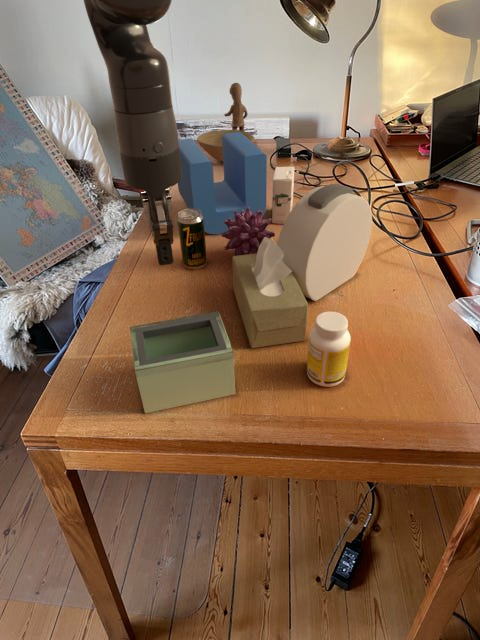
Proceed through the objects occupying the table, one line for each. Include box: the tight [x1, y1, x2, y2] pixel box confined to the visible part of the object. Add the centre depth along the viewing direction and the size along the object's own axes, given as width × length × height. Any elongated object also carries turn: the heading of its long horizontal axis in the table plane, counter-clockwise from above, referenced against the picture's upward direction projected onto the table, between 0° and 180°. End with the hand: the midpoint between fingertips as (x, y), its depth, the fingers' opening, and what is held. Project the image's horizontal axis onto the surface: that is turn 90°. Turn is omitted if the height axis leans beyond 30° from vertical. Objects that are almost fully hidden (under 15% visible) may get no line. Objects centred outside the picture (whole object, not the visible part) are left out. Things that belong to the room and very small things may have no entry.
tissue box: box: [231, 237, 309, 349], centre depth 82 cm, size 19×10×16 cm, turn 10°
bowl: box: [196, 129, 255, 162], centre depth 149 cm, size 18×18×8 cm
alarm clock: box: [276, 183, 373, 302], centre depth 88 cm, size 21×8×20 cm, turn 135°
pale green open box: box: [129, 310, 236, 414], centre depth 71 cm, size 14×9×10 cm
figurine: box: [223, 82, 248, 131], centre depth 159 cm, size 9×8×20 cm
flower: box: [220, 206, 276, 256], centre depth 100 cm, size 12×12×12 cm
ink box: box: [271, 166, 295, 225], centre depth 115 cm, size 9×5×12 cm, turn 172°
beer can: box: [177, 208, 208, 270], centre depth 98 cm, size 5×5×12 cm
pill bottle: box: [306, 311, 352, 388], centre depth 70 cm, size 6×6×11 cm
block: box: [177, 132, 268, 235], centre depth 114 cm, size 18×18×18 cm
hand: (165, 262), depth 69 cm, fingers closed
